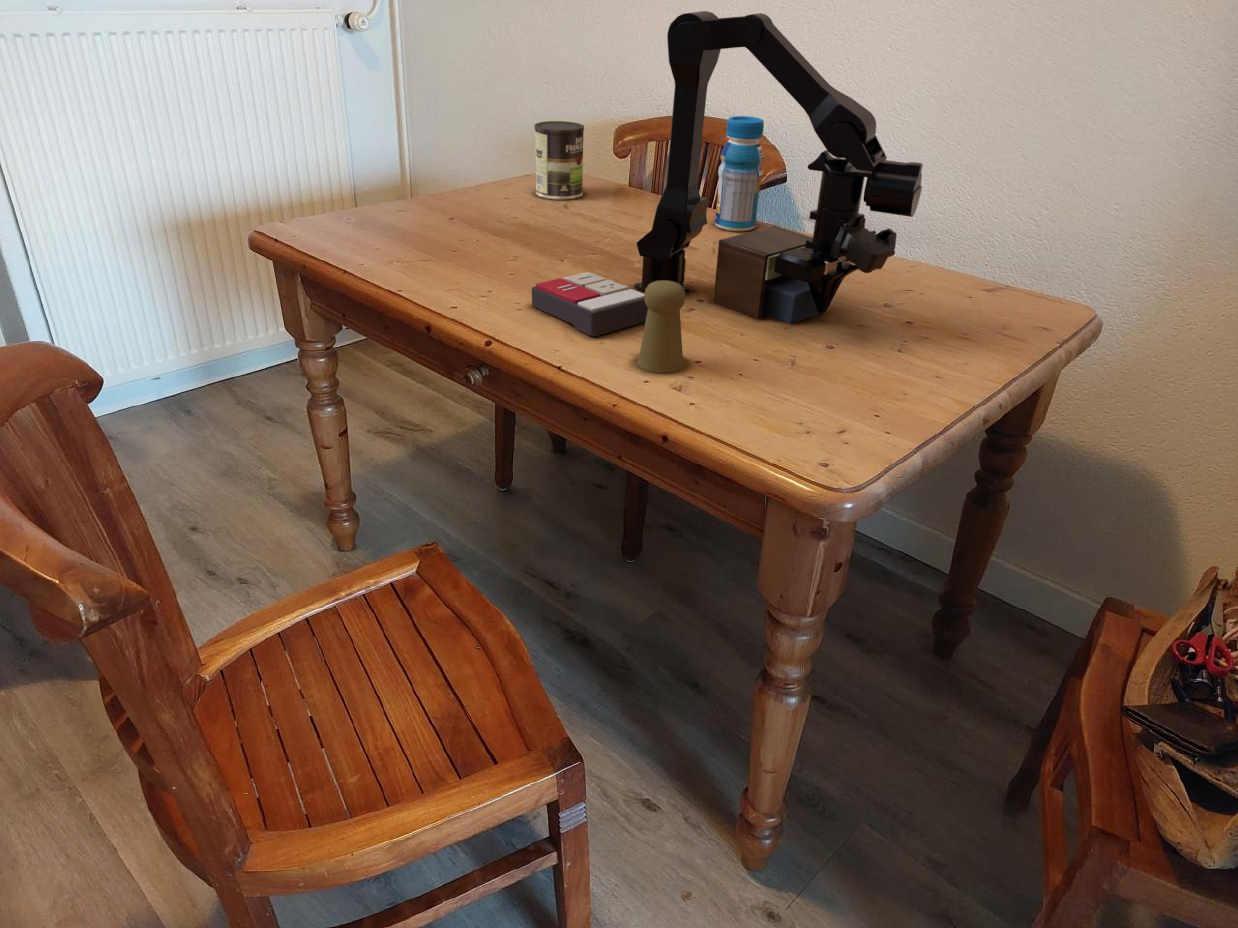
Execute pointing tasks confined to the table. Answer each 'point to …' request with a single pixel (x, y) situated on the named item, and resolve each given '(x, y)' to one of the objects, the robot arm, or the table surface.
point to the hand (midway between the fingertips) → (821, 312)
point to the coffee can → (559, 159)
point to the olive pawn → (662, 328)
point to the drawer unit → (750, 267)
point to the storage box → (788, 299)
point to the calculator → (591, 303)
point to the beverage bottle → (740, 175)
